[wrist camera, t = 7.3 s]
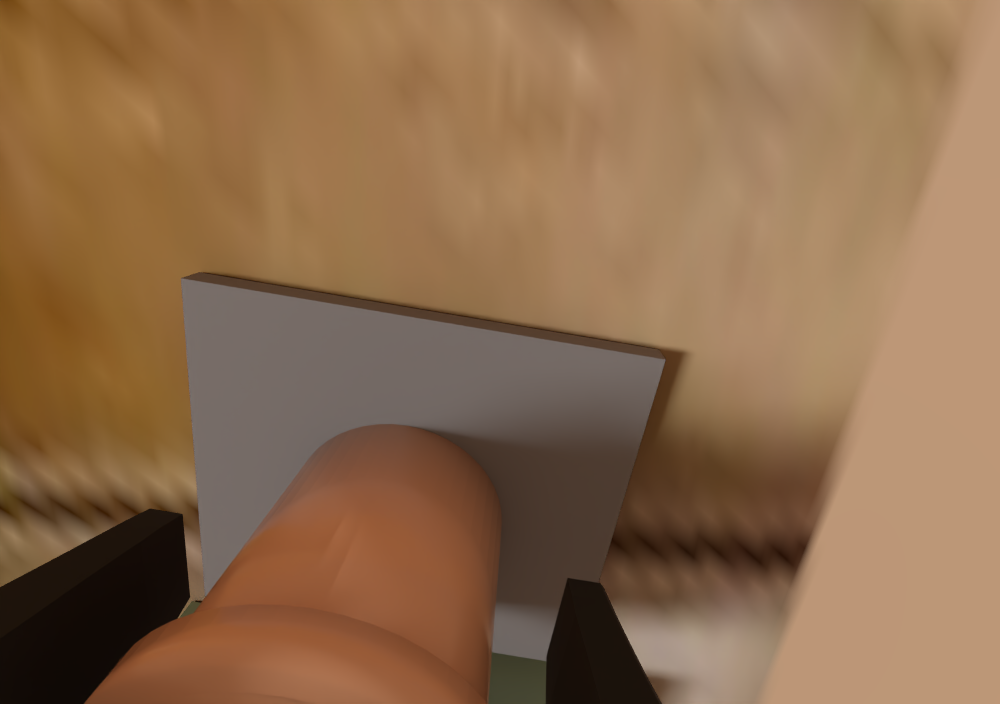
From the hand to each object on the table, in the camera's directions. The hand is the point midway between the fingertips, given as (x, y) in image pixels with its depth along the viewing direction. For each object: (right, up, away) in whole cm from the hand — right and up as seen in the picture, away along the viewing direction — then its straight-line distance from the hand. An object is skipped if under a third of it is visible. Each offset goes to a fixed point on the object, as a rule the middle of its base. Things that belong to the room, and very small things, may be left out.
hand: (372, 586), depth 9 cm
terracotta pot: (0, 0, +3) cm, 3 cm away
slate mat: (0, +1, +3) cm, 3 cm away
